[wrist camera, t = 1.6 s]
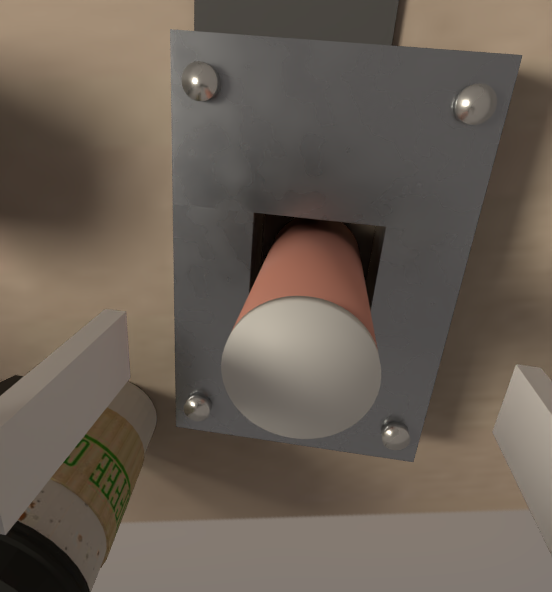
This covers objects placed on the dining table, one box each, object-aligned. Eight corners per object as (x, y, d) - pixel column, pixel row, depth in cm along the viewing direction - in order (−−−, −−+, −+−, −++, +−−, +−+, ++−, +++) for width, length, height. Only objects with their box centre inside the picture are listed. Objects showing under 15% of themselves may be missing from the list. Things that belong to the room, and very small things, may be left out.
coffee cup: (198, 391, 31) (94, 606, 18) (157, 479, 35) (45, 711, 22) (73, 334, 31) (-136, 510, 17) (44, 429, 35) (-144, 635, 21)
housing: (194, 390, 31) (172, 433, 27) (196, 43, 23) (165, 27, 19) (403, 419, 30) (415, 469, 26) (490, 65, 22) (528, 53, 17)
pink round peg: (268, 293, 28) (218, 427, 16) (274, 209, 26) (223, 292, 14) (352, 303, 27) (367, 449, 15) (366, 219, 25) (395, 313, 13)
